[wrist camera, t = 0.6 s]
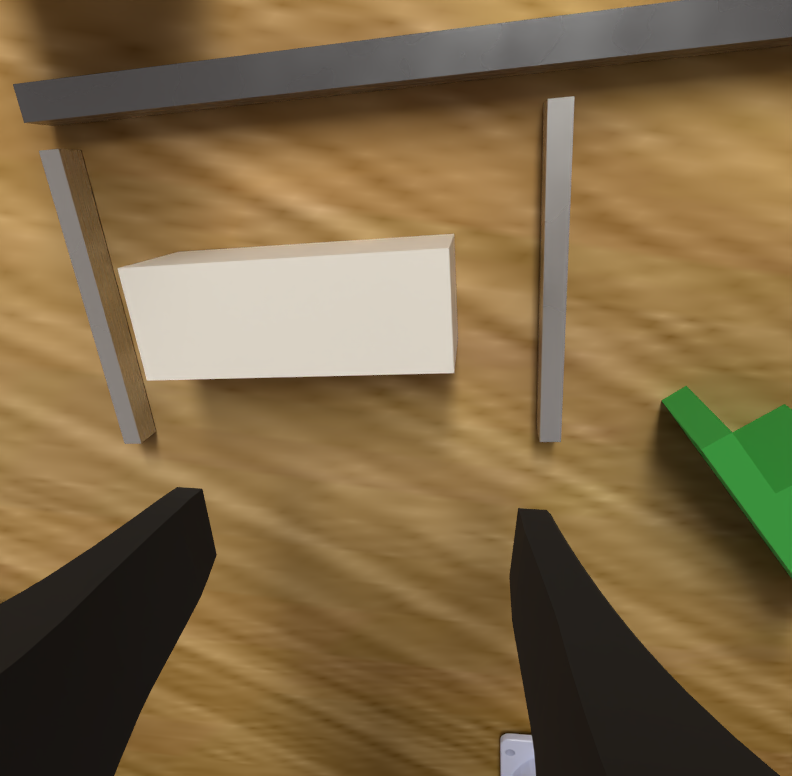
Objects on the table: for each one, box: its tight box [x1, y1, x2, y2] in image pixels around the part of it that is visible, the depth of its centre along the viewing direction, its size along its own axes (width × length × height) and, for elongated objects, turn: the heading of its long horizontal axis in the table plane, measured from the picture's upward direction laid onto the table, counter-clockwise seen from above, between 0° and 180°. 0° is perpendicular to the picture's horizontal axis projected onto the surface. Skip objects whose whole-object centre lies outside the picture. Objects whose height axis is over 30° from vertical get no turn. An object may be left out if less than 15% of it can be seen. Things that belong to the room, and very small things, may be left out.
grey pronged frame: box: [13, 0, 792, 444], centre depth 19 cm, size 14×37×2 cm, turn 95°
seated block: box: [117, 234, 458, 380], centre depth 19 cm, size 4×11×4 cm, turn 94°
